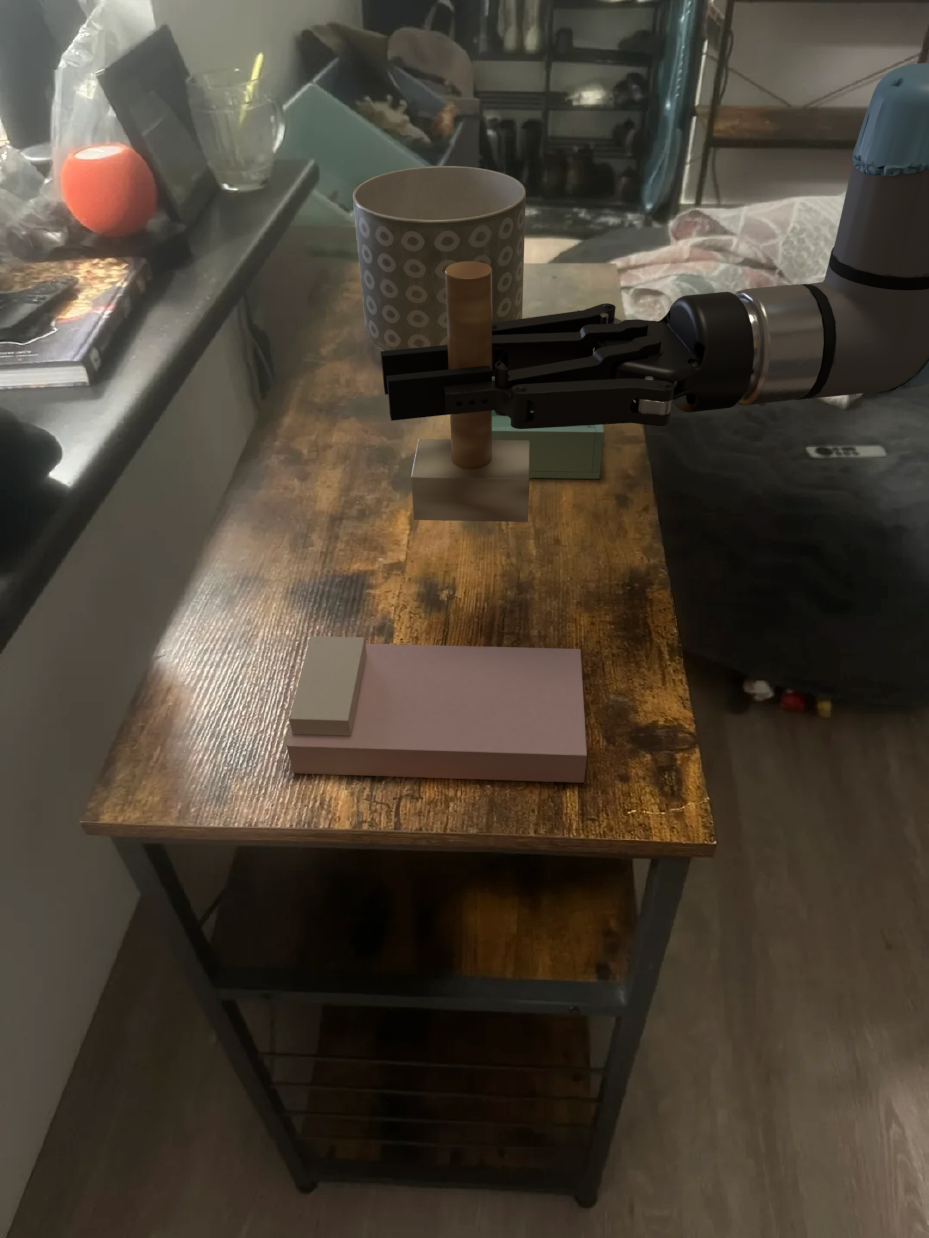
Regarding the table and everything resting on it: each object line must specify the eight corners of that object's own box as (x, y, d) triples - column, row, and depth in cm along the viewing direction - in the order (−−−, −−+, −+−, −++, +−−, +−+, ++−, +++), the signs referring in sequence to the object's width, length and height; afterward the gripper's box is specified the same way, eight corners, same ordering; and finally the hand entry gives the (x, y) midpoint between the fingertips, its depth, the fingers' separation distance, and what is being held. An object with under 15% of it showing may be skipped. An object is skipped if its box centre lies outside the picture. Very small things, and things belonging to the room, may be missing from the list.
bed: (577, 676, 67) (582, 632, 64) (583, 783, 60) (589, 739, 57) (318, 669, 68) (310, 626, 65) (292, 773, 61) (282, 730, 58)
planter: (524, 316, 115) (528, 166, 103) (518, 386, 101) (522, 221, 89) (380, 313, 116) (368, 165, 104) (355, 382, 102) (337, 219, 90)
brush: (528, 482, 65) (536, 254, 54) (527, 522, 61) (536, 286, 50) (420, 480, 66) (406, 254, 54) (413, 520, 62) (396, 285, 51)
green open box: (593, 419, 95) (597, 374, 92) (599, 479, 87) (604, 432, 83) (467, 418, 96) (467, 373, 92) (461, 477, 87) (460, 430, 84)
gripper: (772, 460, 56) (405, 504, 53) (683, 351, 67) (378, 382, 65) (800, 348, 51) (396, 390, 48) (699, 251, 62) (368, 280, 60)
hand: (386, 385), depth 56 cm, fingers closed on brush, 3 cm apart
